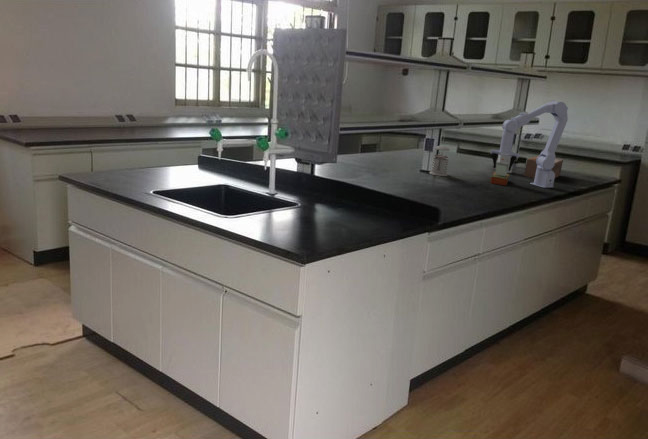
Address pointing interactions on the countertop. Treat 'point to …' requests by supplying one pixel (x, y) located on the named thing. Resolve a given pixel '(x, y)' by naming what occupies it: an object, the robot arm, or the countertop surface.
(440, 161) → the french press
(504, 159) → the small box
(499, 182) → the carton
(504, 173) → the box
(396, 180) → the countertop surface
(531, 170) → the tissue box cover
